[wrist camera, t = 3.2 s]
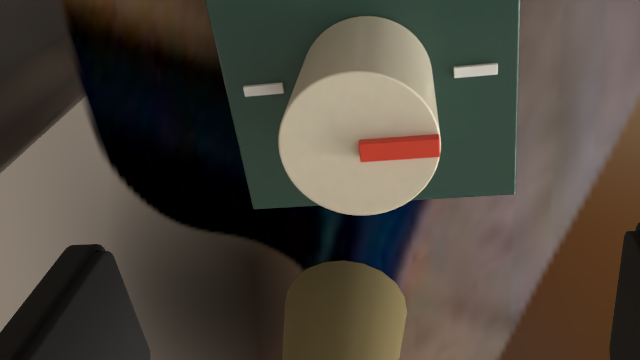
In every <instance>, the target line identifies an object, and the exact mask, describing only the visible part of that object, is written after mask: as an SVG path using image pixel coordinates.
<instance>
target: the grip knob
mask: <svg viewBox="0 0 640 360" xmlns="http://www.w3.org/2000/svg"><path fill="white" fill-rule="evenodd" d="M278 146H279V154H280V157H281V161H282V164H283V166H284V169H285V171H286V173H287V174H288V176H289V178H290V180H291V181H292V182H293V183H294V185H295V186H296V187H297V188H298V189H299V190H300V191H301V192H302V193H303V194H304V195H305V196H306V197H308V198H309V199H310V200H312V201H313V202H315V203H317V204H318V205H320V206H322V207H325V208H327V209H329V210H332V211H335V212H339V213H343V214H349V215H374V214H380V213H384V212H388V211H391V210H393V209H396V208H398V207H400V206H402V205H404V204H406V203H407V202H409V201H410V200H412V199H413V198H414V197H416V196H417V195H418V194H419V193H420V192H421V191H422V190H423V189H424V188H425V187H426V186H427V184H428V183H429V181H430V180H431V178H432V177H433V175H434V173H435V171H436V168H437V165H438V162H439V158H440V153H441V137H440V129H439V121H438V113H437V106H436V98H435V90H434V82H433V74H432V67H431V63H430V59H429V57H428V54H427V52H426V50H425V48H424V47H423V45H422V43H421V42H420V41H419V40H418V38H417V37H416V36H415V35H414V34H413V33H411V32H410V31H409V30H408V29H406V28H405V27H404V26H402V25H400V24H398V23H396V22H394V21H391V20H388V19H385V18H381V17H374V16H359V17H353V18H349V19H346V20H343V21H340V22H338V23H336V24H334V25H333V26H331V27H329V28H328V29H326V30H325V31H324V32H323V33H322V34H321V35H320V36H319V37H318V38H317V39H316V40H315V41H314V43H313V44H312V46H311V47H310V49H309V51H308V53H307V55H306V58H305V60H304V63H303V66H302V68H301V71H300V73H299V76H298V79H297V81H296V84H295V87H294V89H293V92H292V94H291V97H290V100H289V102H288V105H287V107H286V110H285V113H284V115H283V118H282V121H281V124H280V129H279V135H278Z"/></svg>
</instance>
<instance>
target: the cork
mask: <svg viewBox="0 0 640 360" xmlns="http://www.w3.org/2000/svg"><path fill="white" fill-rule="evenodd" d="M406 316H407V308H406V302H405V297H404V295H403V294H402V292H401V290H400V289H399V287H398V286H397V284H396V283H395V282H394V281H393V280H392V279H390V278H389V277H388V276H387V275H385V274H384V273H383V272H382V271H379V270H377V269H375V268H373V267H370V266H368V265H366V264H363V263H356V262H350V261H333V262H324V263H321V264H318V265H316V266H313V267H310V268H308V269H306V270H305V271H304V272H302V273H301V274H300V275H299V276H297V277H296V278H295V279H294V280H293V282H292V283H291V285H290V287H289V289H288V290H287V292H286V301H285V314H284V335H283V336H284V337H283V357H282V360H399V356H400V350H401V344H402V339H403V333H404V327H405V321H406Z"/></svg>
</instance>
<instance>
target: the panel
mask: <svg viewBox="0 0 640 360" xmlns="http://www.w3.org/2000/svg"><path fill="white" fill-rule="evenodd" d="M206 5H207V9H208V13H209V18H210V22H211V26H212V31H213V35H214V40H215V44H216V48H217V53H218V57H219V61H220V66H221V70H222V74H223V79H224V83H225V87H226V92H227V96H228V101H229V105H230V109H231V114H232V118H233V122H234V127H235V131H236V135H237V140H238V144H239V149H240V153H241V157H242V162H243V166H244V170H245V175H246V179H247V183H248V188H249V192H250V196H251V201H252V205H253V208H254V209H265V208H282V207H300V206H317V205H318V204H317V203H315V202H313V201H312V200H310V199H309V198H308V197H306V196H305V195H304V194H303V193H302V192H301V191H300V190H299V189H298V188H297V187H296V186H295V185H294V183H293V182H292V181H291V180H290V178H289V176H288V174H287V173H286V171H285V169H284V166H283V164H282V161H281V157H280V154H279V146H278V135H279V129H280V124H281V121H282V118H283V115H284V113H285V110H286V107H287V105H288V102H289V100H290V97H291V94H292V92H293V89H294V87H295V84H296V81H297V79H298V76H299V73H300V71H301V68H302V66H303V63H304V60H305V58H306V55H307V53H308V51H309V49H310V47H311V46H312V44H313V43H314V41H315V40H316V39H317V38H318V37H319V36H320V35H321V34H322V33H323V32H324V31H325V30H326V29H328V28H329V27H331V26H333V25H334V24H336V23H338V22H340V21H343V20H346V19H349V18H353V17H359V16H374V17H381V18H385V19H388V20H391V21H394V22H396V23H398V24H400V25H402V26H404V27H405V28H406V29H408V30H409V31H410V32H411V33H413V34H414V35H415V36H416V37H417V38H418V40H419V41H420V42H421V43H422V45H423V47H424V48H425V50H426V52H427V54H428V57H429V59H430V63H431V67H432V74H433V82H434V90H435V98H436V106H437V113H438V121H439V129H440V137H441V153H440V158H439V162H438V165H437V168H436V171H435V173H434V175H433V177H432V178H431V180H430V181H429V183H428V184H427V186H426V187H425V188H424V189H423V190H422V191H421V192H420V193H419V194H418V195H417V196H416V197H414V198H413V199H412V200H422V199H440V198H457V197H475V196H492V195H510V194H515V192H516V162H517V120H518V78H519V36H520V0H206Z"/></svg>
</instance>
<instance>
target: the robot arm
mask: <svg viewBox="0 0 640 360" xmlns="http://www.w3.org/2000/svg"><path fill="white" fill-rule="evenodd" d="M0 360H150V350H149V347H148V344H147V342H146V339H145V337H144V334H143V332H142V329H141V327H140V324H139V322H138V318H137V316H136V313H135V311H134V308H133V306H132V303H131V300H130V298H129V295H128V292H127V290H126V287H125V285H124V282H123V279H122V277H121V274H120V272H119V269H118V266H117V264H116V261H115V259H114V256H113V254H112V253H111V252H108V251H105V249H104V248H103V247H102V246H101V245H98V244H92V245H72V246H69V247H68V248H66V250H65V251H64V252H63V253H62V254H61V256H60V257H59V258H58V259H57V261H56V262H55V263H54V265H53V266H52V267H51V268H50V270H49V271H48V272H47V274H46V275H45V276H44V277H43V279H42V280H41V281H40V283H39V284H38V285H37V286H36V288H35V289H34V290H33V291H32V293H31V294H30V295H29V297H28V298H27V299H26V300H25V302H24V303H23V304H22V306H21V307H20V308H19V309H18V311H17V312H16V313H15V314H14V316H13V317H12V318H11V320H10V321H9V322H8V324H7V325H6V326H5V327H4V329H3V330H2V331H1V332H0ZM610 360H640V223H638V225H637V227H636V231H628V232H626V234H625V236H624V242H623V249H622V257H621V265H620V272H619V280H618V287H617V295H616V302H615V310H614V317H613V325H612V332H611V340H610Z"/></svg>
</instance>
